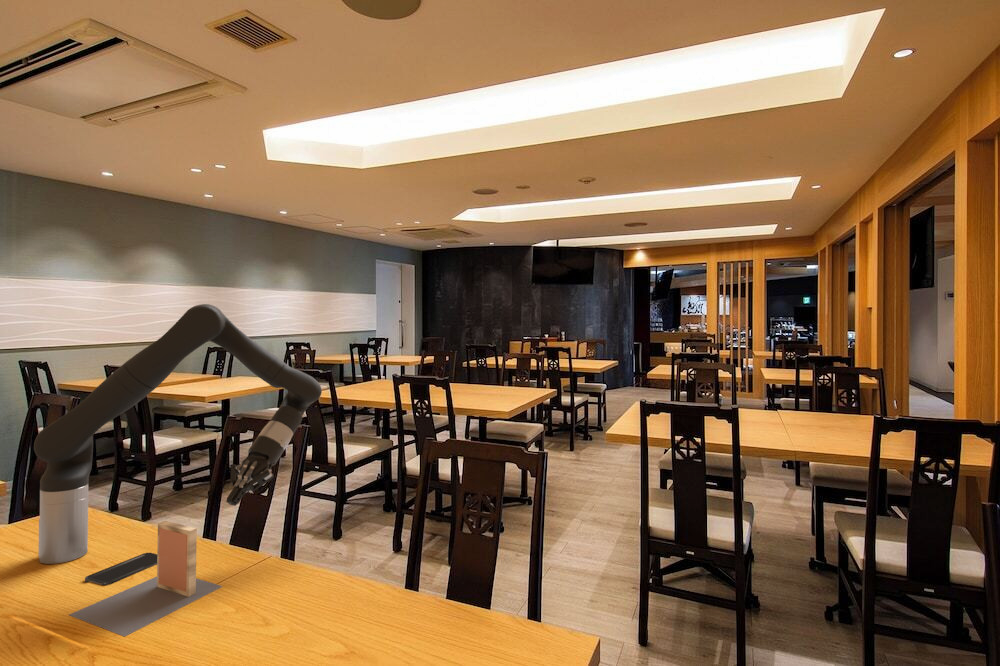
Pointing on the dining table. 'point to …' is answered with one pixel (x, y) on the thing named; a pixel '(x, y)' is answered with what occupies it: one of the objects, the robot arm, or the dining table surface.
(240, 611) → the dining table surface
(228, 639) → the dining table surface
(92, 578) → the phone
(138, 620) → the mat
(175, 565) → the placard
